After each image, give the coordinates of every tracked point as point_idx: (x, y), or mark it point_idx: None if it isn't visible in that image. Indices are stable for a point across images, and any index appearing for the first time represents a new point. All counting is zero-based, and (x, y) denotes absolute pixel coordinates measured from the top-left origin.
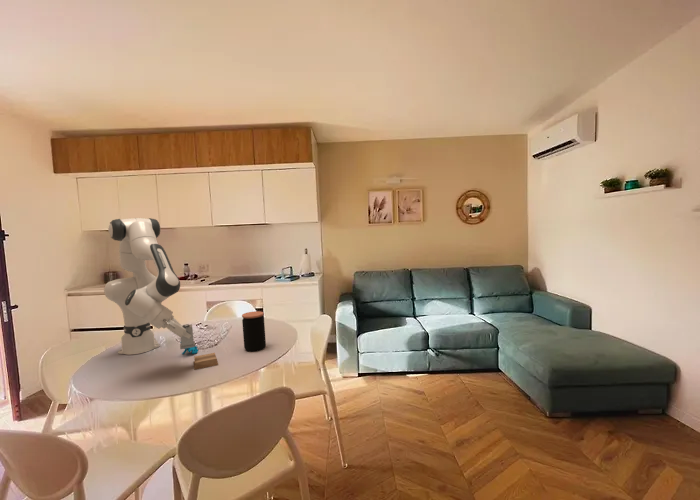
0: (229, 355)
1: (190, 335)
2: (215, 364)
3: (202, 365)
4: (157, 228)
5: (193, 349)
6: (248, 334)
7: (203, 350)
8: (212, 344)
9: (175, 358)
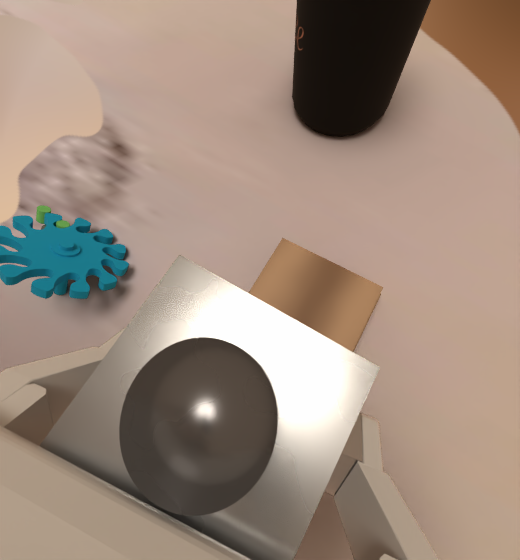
0: (306, 197)
1: (374, 430)
2: (375, 305)
3: None
4: None
5: (101, 252)
6: (388, 47)
7: (124, 215)
8: (101, 154)
9: (71, 346)
